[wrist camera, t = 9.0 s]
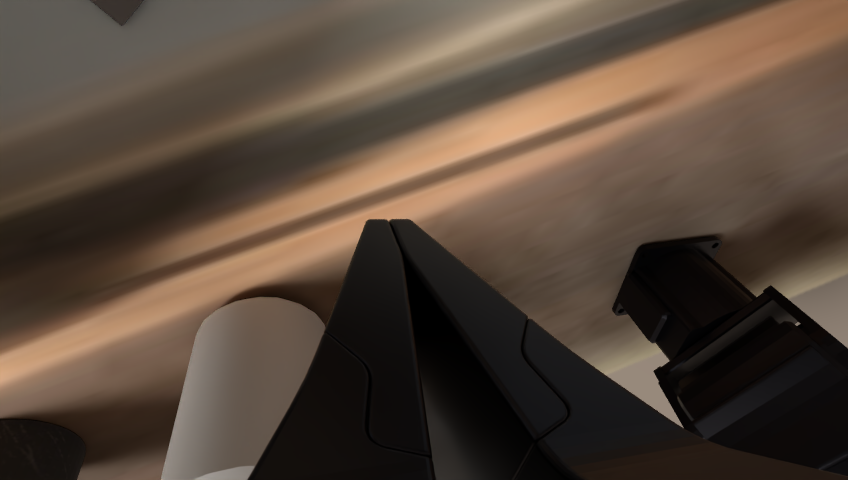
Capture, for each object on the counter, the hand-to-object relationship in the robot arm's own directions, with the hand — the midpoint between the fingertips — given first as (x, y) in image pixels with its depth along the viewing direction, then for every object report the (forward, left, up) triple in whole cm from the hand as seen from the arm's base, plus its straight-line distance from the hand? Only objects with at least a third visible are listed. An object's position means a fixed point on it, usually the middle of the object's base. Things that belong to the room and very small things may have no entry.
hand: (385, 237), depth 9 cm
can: (+6, +16, -13) cm, 22 cm away
